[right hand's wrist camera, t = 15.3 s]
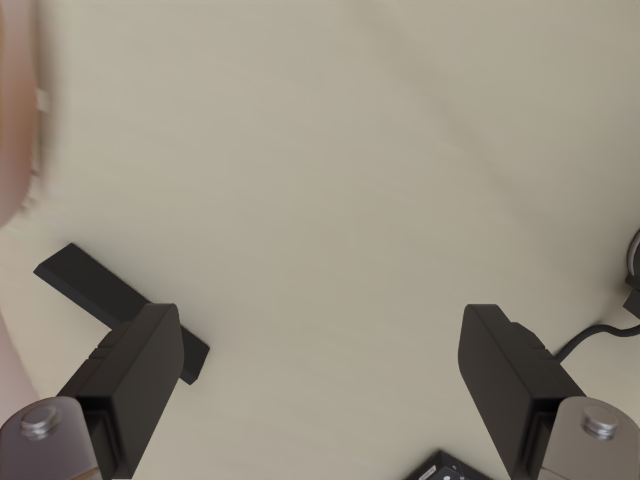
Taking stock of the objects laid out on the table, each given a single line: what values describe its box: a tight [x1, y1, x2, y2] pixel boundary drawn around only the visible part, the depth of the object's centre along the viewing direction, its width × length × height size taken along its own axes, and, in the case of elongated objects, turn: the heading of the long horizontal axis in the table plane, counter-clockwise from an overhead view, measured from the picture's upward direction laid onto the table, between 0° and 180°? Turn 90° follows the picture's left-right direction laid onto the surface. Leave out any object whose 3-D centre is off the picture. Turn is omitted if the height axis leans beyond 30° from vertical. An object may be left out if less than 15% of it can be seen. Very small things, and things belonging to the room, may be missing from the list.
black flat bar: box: [33, 243, 210, 385], centre depth 40 cm, size 18×1×5 cm, turn 45°
